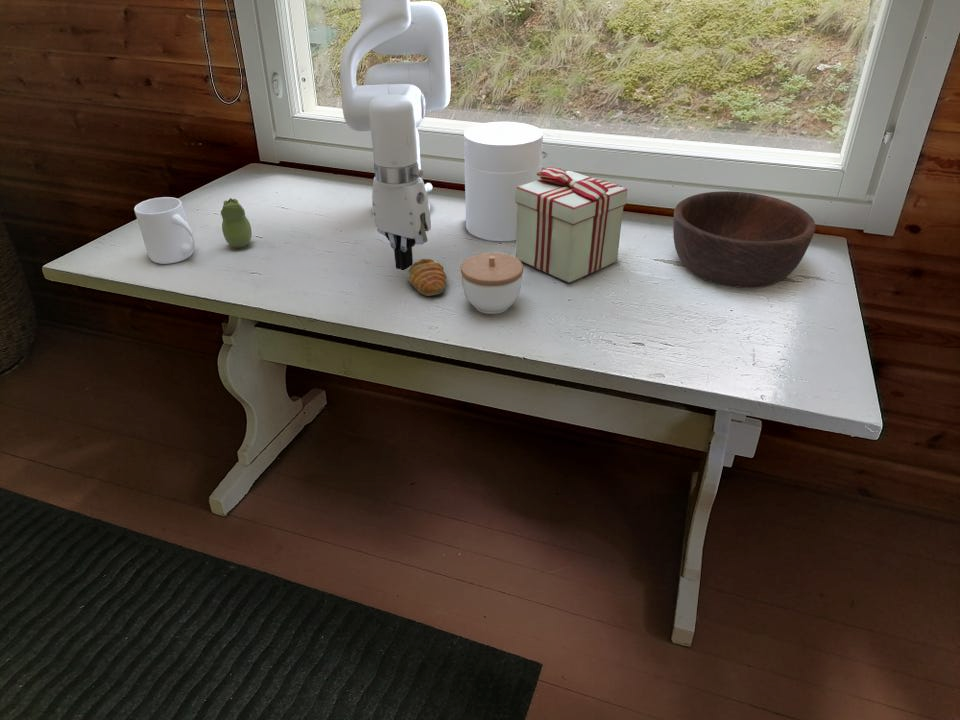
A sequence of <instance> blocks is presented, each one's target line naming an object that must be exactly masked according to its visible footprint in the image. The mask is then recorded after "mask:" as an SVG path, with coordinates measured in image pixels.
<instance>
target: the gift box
mask: <svg viewBox="0 0 960 720" xmlns="http://www.w3.org/2000/svg"><path fill="white" fill-rule="evenodd" d="M537 176H540V177H539V178H540V179H539V180H537V181H534V182H531V183H528V184H525V185H521V186H518V187H516V199H515V202H516V203H517V234H516V240H515V258H517V259H519V260H520V261H521V263H524V264H526V265H529V266H530V267H532V268H534V269H535V270H538V271H542V272H544V273H546V274H548V275H550V276H552V277H555V278H556V279H559V280H561V281H563V282H565V283H568V284H569V283H572V282H574V281H577V280H579V279H581V278H583V277H585V276H587V275H590V274H592V273H594V272H597V271H599V270H601V269H604V268H605V267H608V266H609V265H612V264H614V263H616V262H617V261H618V255H619V247H620V239H621V230H622V223H623V213H624V206H626V205H627V198H628V188H625V187H623V186H622V185H620V184H618V183H617V184H615V183H612V182H610V181H608V180H601V179H599V178H595V177H591V176H589V175H588V176H587V175H584V174H582V173H579V172H575V171H572V170H564V169H562V168H561V167H560V168H559V167H553V166H550V167H546V168H544V169H542V170H541V171H540V172H538V173H537Z"/></svg>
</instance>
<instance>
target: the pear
mask: <svg viewBox="0 0 960 720" xmlns="http://www.w3.org/2000/svg"><path fill="white" fill-rule="evenodd" d="M220 215H221V218H222V223H221V230H222V235H223V237H224V240H225V241H226V243H227V244H228V245H229V246H231V247H232V248H238V249H239V248H244V247H246V246H247V245H249V244H250V242H251V240H252V237H253V235H252V233H253V232H252V231H253V230H252V226H251V223H250V221H249V219H248V218H247V216H246V212H245V209H244V207H243V205H241V204H240V203H239V201H238V199H236V198H231V197H229V199H227V200H223V205H222V209H221V210H220Z"/></svg>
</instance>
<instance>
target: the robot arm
mask: <svg viewBox="0 0 960 720" xmlns="http://www.w3.org/2000/svg"><path fill="white" fill-rule="evenodd" d="M359 2H360V3H359V4H360V17H361V18H360V24H359V25H358V27H357V28H356V29H355V31H354V32H353V34H351V36H350V38H349V40H348V41H347V43H346V45H345V48H344V50H343V52H342V55H341V59H340V60H341V61H340V66H339V81H340V93H341V94H340V95H341V107H342V114H343V119H344V121H345V124H346V125H347V126H348V127H349V128H350V129H351V130H353V131H357V132H370V133H371V134H370V136H371V146H372V156H373V167H374V177H373V181H372V190H371V191H372V193H371V194H372V195H371V200H372V201H371V206H372V216H373V217H372V219H373V223H374V226H375V228H376V231H377V233H379V234H380V235H382V236H384V237H385V238H386V239H387V241H388V242H389V246H390V248H391V249H393V252H394V253H393V254H394V262H395V263H394V264H395V269H396V270H400V271H403V272H404V271H406V270H407V269H408V268H411V266H412V265H413V264H414V263H413V262H414V258H413V247H415V245H424V244H426V243H427V242H428V240H429V239H428V235H427V232H429V231H430V230H431V229H432V222H431V221H432V220H431V212H430V211H431V205H430V202H429V197H428V193H430V192H431V191H433V185H432V183H431V182H426V183H425V182H424V180H423V178H422V177H424V171H423V169H422V166H421V152H420V151H421V148H420V135H419V130H418V127H419V126H420V125H421V123H422V121H423V120H424V119H425V117H426V112H429V111H430V112H431V111H441V110H443V109H445V108H447V107H448V105H449V104H450V100H451V72H450V71H451V70H450V49H449V46H450V45H449V32H448V30H449V29H448V21H447V17H446V14H445V10H444V9H443V7H442V6H441V5H440V4H439V3H437V2H434V1H410V0H359ZM371 50H372V51H373V52H374V53H377V55H383V56H408V55H409V56H411V55H422V56H425V58H426V59H427V61H392V62H381V63H377V64H374V65H372V66H371V67H369V68H368V70H367V71H366V73H365V76H364V84H362V85H361V84H360V85H359V84H357V71H358V67H359V65H360V62H361V60H362V59H363V58H364V57H365V56H366V55H367V54H368V53H369V52H370V51H371Z"/></svg>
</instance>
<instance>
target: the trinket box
mask: <svg viewBox="0 0 960 720" xmlns="http://www.w3.org/2000/svg"><path fill="white" fill-rule="evenodd" d="M460 274H461V286H462V289H463V290H462V291H463V293H464V296H465V298H466V299H467V301H468V302H469V303H470V304H471V305H472V306H473V307H474V308H475V309H476V310H477V311H478V312H480V313H483V314H486V315H498V314H502V313H504V312H506V311H507V310H508V309H509V308H510V307H511V306H512V305H514V304H515V302H516V301H517V299H518V298H519V296H520V294H521V290H522V284H523V276H524V275H523V274H524V264H523V262H522V261H520V260H519V259H517V258H516V256H513V255H511V254H507V253H502V252H482V253H478V254H473V255H471V256H469V257H467V258H466V259H465V260H463V262H462V263H461V264H460Z"/></svg>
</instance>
